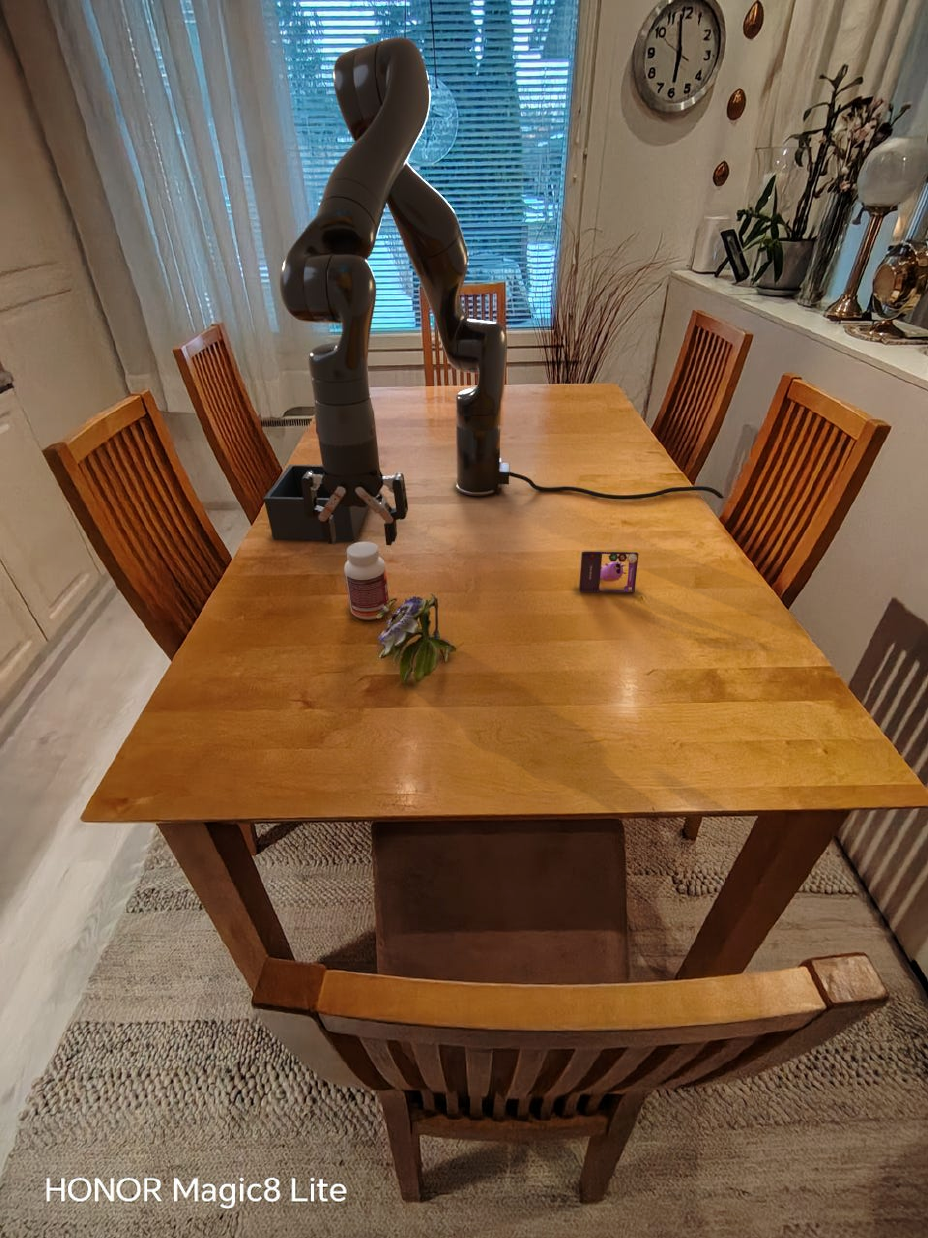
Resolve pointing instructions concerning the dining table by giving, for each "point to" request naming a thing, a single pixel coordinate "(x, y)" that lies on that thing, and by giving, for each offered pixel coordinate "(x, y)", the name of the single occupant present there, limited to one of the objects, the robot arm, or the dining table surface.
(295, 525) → the open storage bin
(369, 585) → the pill bottle
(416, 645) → the passion flower
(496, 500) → the dining table surface
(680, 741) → the dining table surface
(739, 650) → the dining table surface
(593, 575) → the game card
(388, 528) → the robot arm
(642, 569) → the dining table surface
